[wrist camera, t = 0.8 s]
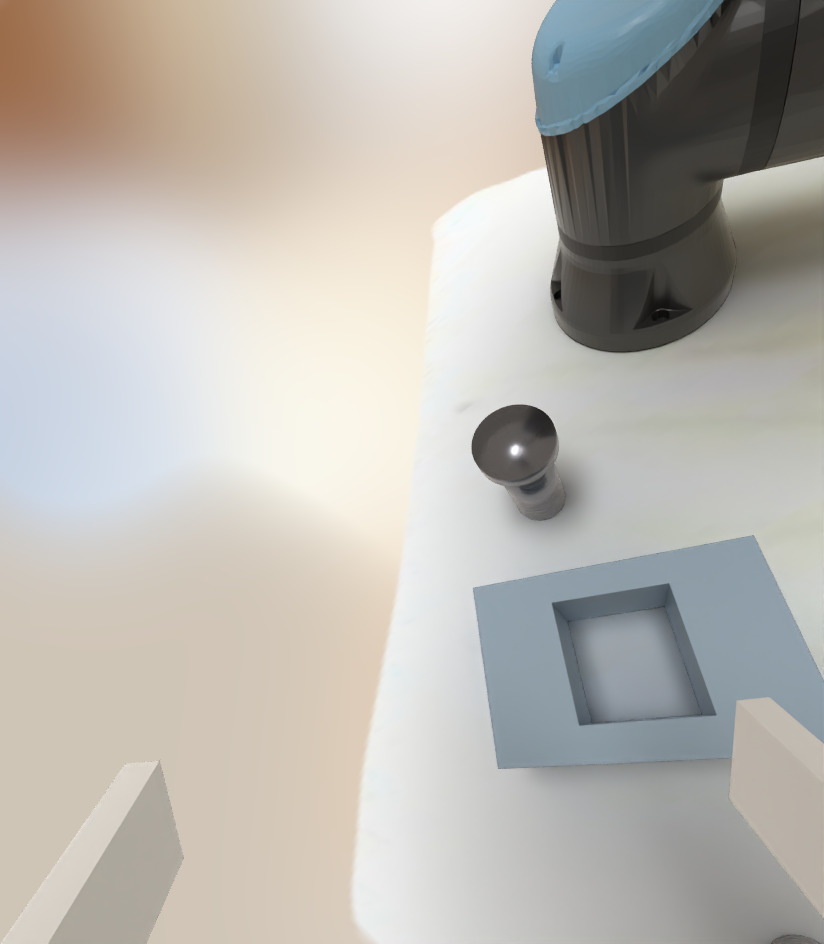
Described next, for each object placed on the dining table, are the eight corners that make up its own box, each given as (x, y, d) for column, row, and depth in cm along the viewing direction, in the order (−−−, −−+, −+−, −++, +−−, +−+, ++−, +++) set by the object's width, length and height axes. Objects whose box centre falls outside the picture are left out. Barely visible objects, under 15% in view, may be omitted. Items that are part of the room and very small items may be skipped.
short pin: (530, 457, 40) (501, 393, 32) (589, 486, 36) (573, 422, 28) (494, 509, 39) (455, 456, 31) (550, 542, 36) (523, 493, 28)
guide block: (733, 568, 30) (753, 535, 24) (810, 743, 25) (858, 752, 19) (500, 607, 35) (472, 587, 30) (525, 758, 30) (498, 768, 25)
